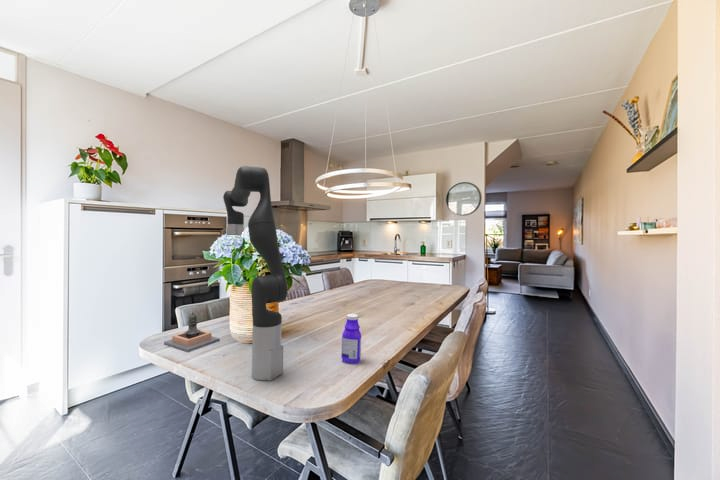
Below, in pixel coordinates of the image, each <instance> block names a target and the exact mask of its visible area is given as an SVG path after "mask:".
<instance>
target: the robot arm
mask: <svg viewBox="0 0 720 480" xmlns="http://www.w3.org/2000/svg"><path fill="white" fill-rule="evenodd" d="M235 175H236V176H235V180H234V185H233V187H232V190H225V192H224V194H223V197H222V199H223V202H224V206H225V209H226V213H227V217H226V218H227V219H226V221H227V223H226V224H227V225H226V236H227V235H241V234H242V232H243V231H244V232H245V227H244V225H245V222H244V221H245V214H244V213H243V212H242V211H238V210H236V209H234V208H233V207H237V208H238V207H239V208H241V207H242V208H243V207H246V206H248V202H249V197H250V196H251V193H259V194H260V195H259V200H258V204H257V205H256V208H255V209H254V210H253V213H252V214H251V216H250V217H249V219H248V223H247V229H248V236H249V241H250V243H251V245H252V247H253V248H254V249H255V251H256V252H257V253H258V254H259V255H260V256H261V257H262V258H263V260H264V261H265V263H266V265H267V267H268V269H269V272H270V275H269V274H268V275H259V276H255V277H254V278H253V280H252V282H251V290H250V291H251V314H252V315H251V316H252V345H251V346H252V347H251V349H252V350H251V354H252V355H251V377H252V378H253V379H254V380H256V381H269V382H270V381H273V380H274V379H276V378H277V377H279V376H281V375H283V374H284V345H282V321H283V320H282V319H283V318H282V314H281V313H280V312H277V311H276V310H275V311H274V310H270V309H268V308H267V304H272V303H273V304H274V303H278V302H280V303H281V302H284V301H285V300H286V298H287V297H288V282H287V278H286V274H285V270H284V266H283V262H282V259H281V254H280V249H279V248H280V247H279V243H278V242H279V241H278V235H277V234H278V233H277V228H276V227H277V226H276V222H275V218H274V212H273V206H272V198H271V188H270V187H271V186H270V185H271V184H270V177H269V173H268V170H267V168H264V167H261V166H260V167H259V166H248V165H243V166H240V167H239V168H238V169H237V171H236V174H235Z"/></svg>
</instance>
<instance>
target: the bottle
mask: <svg viewBox="0 0 720 480" xmlns="http://www.w3.org/2000/svg"><path fill="white" fill-rule="evenodd" d="M360 328H361V326H360V325H359V315H358V314H356V313H348V314H347V315H346V322H345V324H344V329H343V332H342V336H341V354H340V355H341V360H342V361H343V362H344V363H348V364H357V363H358V362H360V360H361V357H362V356H361V355H362V333H361V330H360Z"/></svg>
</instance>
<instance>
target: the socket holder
mask: <svg viewBox="0 0 720 480" xmlns="http://www.w3.org/2000/svg"><path fill="white" fill-rule="evenodd" d="M197 329H198V328H197ZM198 330H200V334H199V336H197V337H194V338H191V339H188V338H187V337H186V336H185V332H186V331H183V332H180V333H177V334H174V335H172V336H171V337H172V339H168V340H166V341H163V345H165V346H168V347H171V348H174V349H177V350H179V351H182V352H186V353H190V352H192V351H196V350H199V349H201V348H203V347H206V346H209V345H212V344H214V343H217V342H220V340H221V339H220V338H219V337H216V336H212V334H213V333H212V332H210V331H205V330H201V329H198Z"/></svg>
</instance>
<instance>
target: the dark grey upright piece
mask: <svg viewBox="0 0 720 480" xmlns="http://www.w3.org/2000/svg"><path fill="white" fill-rule="evenodd" d="M197 319H198V318H197V314H195V313H194V312H193V311H192V313H191V314H189V315H188V323H187V324H188V329H187V330H186V331H184V332H185V336H186V337H187V338H188V339H191V338H194V337H197V336H199V334H200V330H201V329H199V330H198V328H197V325H198V320H197Z"/></svg>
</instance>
